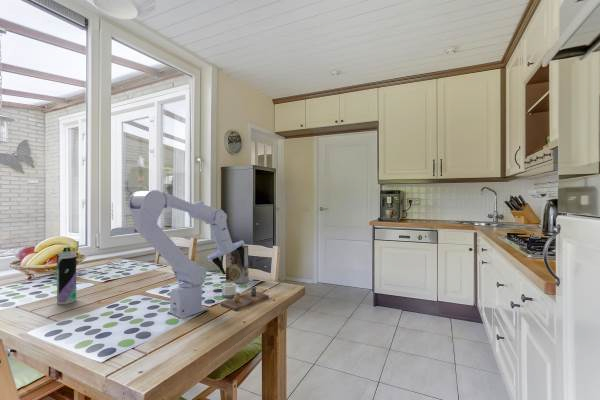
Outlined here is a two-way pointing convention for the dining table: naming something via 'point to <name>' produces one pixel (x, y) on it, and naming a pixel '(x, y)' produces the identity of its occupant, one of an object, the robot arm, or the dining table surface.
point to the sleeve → (228, 290)
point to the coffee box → (237, 267)
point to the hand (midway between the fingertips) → (233, 269)
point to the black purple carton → (66, 277)
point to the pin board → (244, 300)
